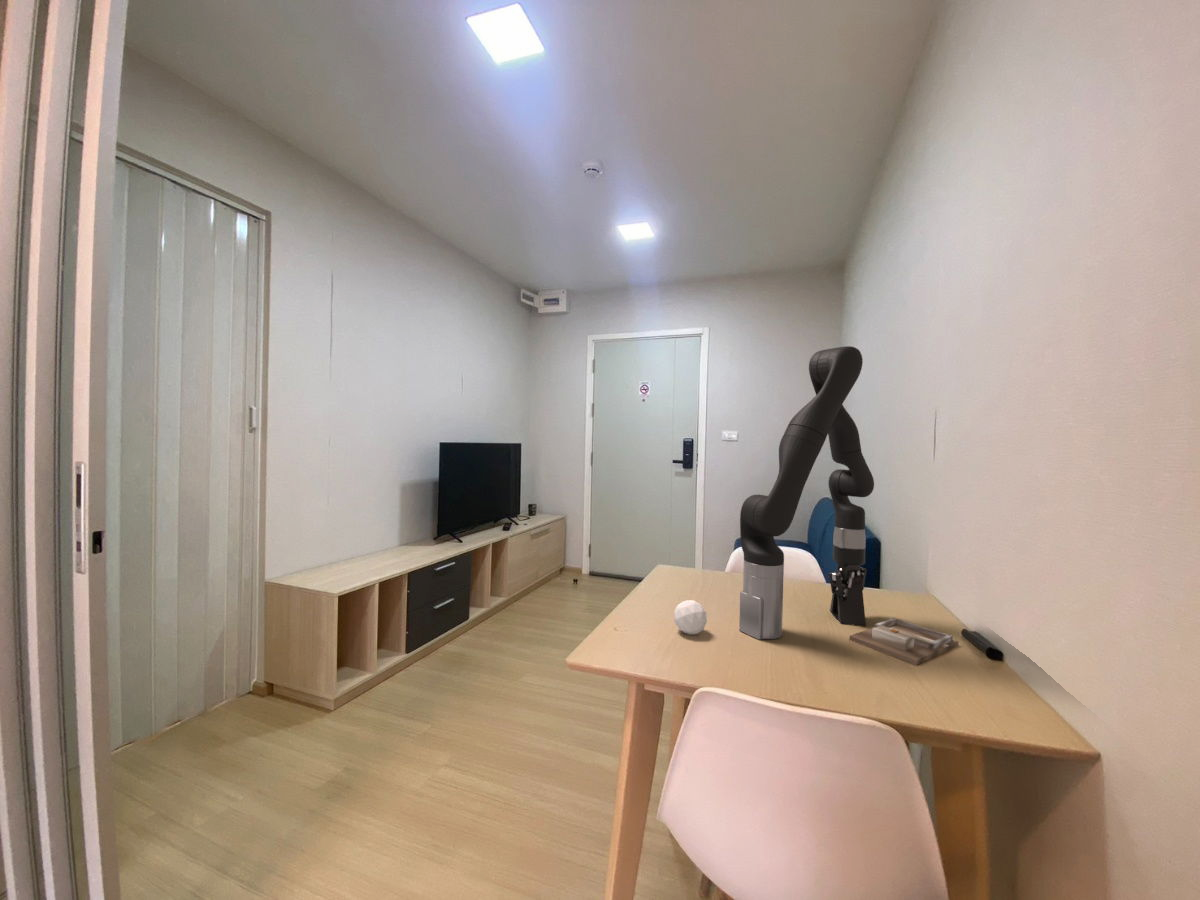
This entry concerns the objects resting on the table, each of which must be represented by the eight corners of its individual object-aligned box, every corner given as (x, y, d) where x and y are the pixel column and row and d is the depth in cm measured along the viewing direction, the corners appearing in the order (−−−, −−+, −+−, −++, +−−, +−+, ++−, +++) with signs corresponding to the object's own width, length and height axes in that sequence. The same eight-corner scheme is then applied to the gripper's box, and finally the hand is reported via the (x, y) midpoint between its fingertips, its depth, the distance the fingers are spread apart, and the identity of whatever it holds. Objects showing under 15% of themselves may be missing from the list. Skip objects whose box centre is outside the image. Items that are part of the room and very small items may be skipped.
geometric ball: (690, 647, 105) (681, 627, 101) (672, 624, 112) (664, 604, 108) (716, 630, 106) (709, 609, 102) (697, 607, 113) (690, 587, 109)
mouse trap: (916, 665, 93) (916, 647, 93) (849, 639, 105) (849, 624, 105) (958, 645, 103) (958, 629, 103) (893, 624, 115) (893, 610, 115)
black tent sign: (865, 626, 113) (867, 579, 113) (840, 624, 115) (841, 577, 115) (853, 614, 122) (854, 570, 122) (829, 611, 124) (830, 568, 124)
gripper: (850, 539, 125) (848, 600, 125) (819, 544, 118) (818, 608, 118) (878, 544, 119) (876, 608, 119) (847, 550, 112) (846, 617, 112)
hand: (847, 608), depth 118 cm, fingers closed on black tent sign, 4 cm apart
